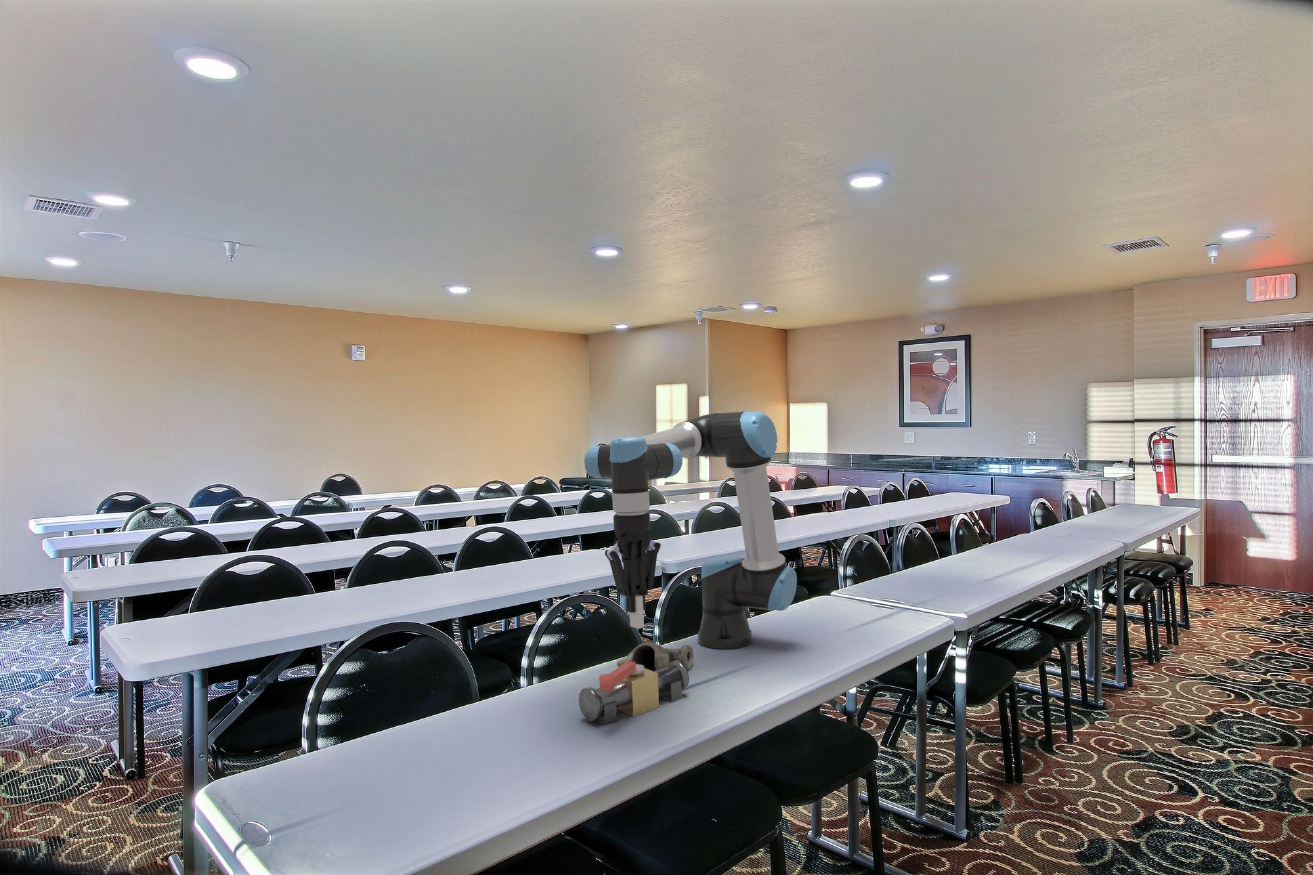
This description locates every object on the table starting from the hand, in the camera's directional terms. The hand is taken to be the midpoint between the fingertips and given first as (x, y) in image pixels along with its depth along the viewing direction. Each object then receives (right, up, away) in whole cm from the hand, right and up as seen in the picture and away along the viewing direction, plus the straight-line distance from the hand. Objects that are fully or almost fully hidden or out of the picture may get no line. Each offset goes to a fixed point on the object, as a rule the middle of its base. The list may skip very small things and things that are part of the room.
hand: (637, 626), depth 154 cm
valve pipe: (0, -20, +10) cm, 22 cm away
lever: (-3, -12, +4) cm, 13 cm away
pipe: (+4, -20, +31) cm, 37 cm away
